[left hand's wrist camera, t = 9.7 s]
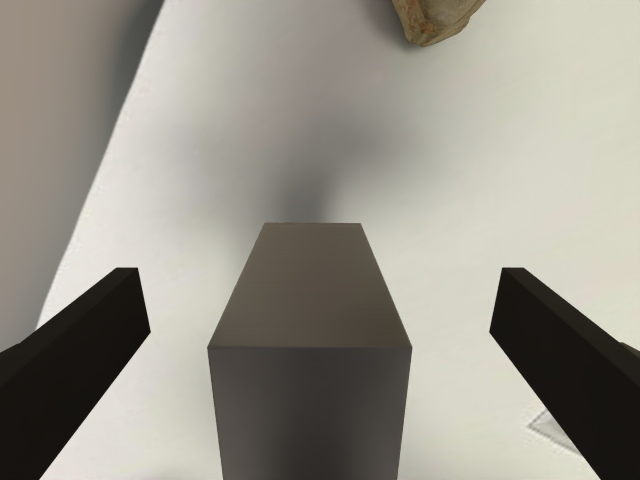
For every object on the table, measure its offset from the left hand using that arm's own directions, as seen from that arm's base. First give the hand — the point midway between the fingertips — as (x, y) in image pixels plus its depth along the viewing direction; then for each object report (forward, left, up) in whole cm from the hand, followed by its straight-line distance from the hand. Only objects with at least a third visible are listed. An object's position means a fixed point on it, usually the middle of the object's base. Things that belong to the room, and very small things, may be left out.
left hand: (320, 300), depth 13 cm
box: (+11, +6, -10) cm, 16 cm away
